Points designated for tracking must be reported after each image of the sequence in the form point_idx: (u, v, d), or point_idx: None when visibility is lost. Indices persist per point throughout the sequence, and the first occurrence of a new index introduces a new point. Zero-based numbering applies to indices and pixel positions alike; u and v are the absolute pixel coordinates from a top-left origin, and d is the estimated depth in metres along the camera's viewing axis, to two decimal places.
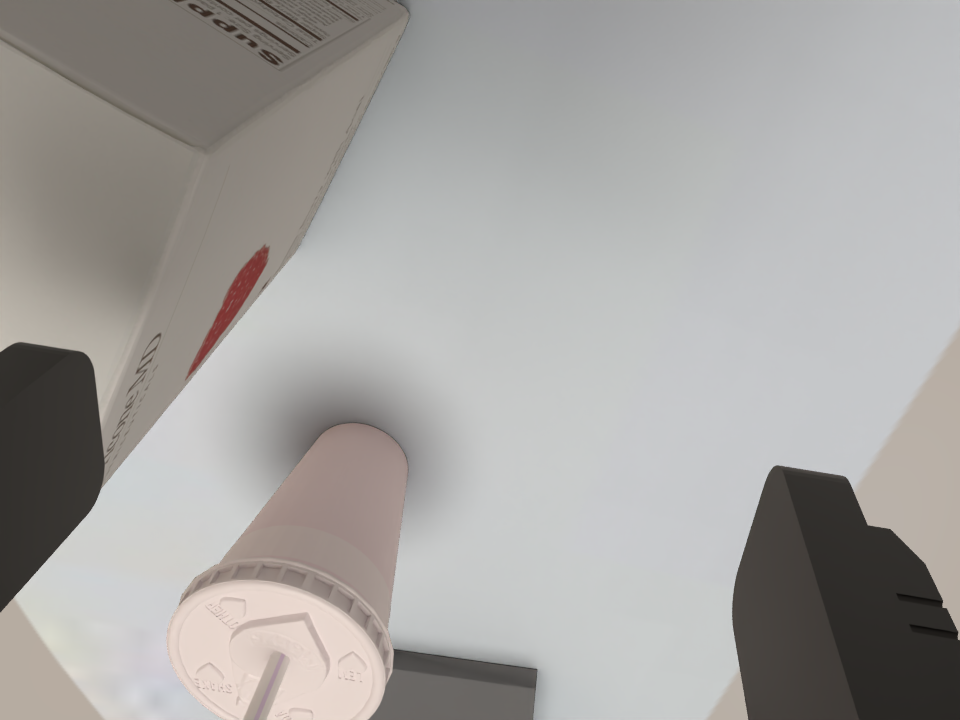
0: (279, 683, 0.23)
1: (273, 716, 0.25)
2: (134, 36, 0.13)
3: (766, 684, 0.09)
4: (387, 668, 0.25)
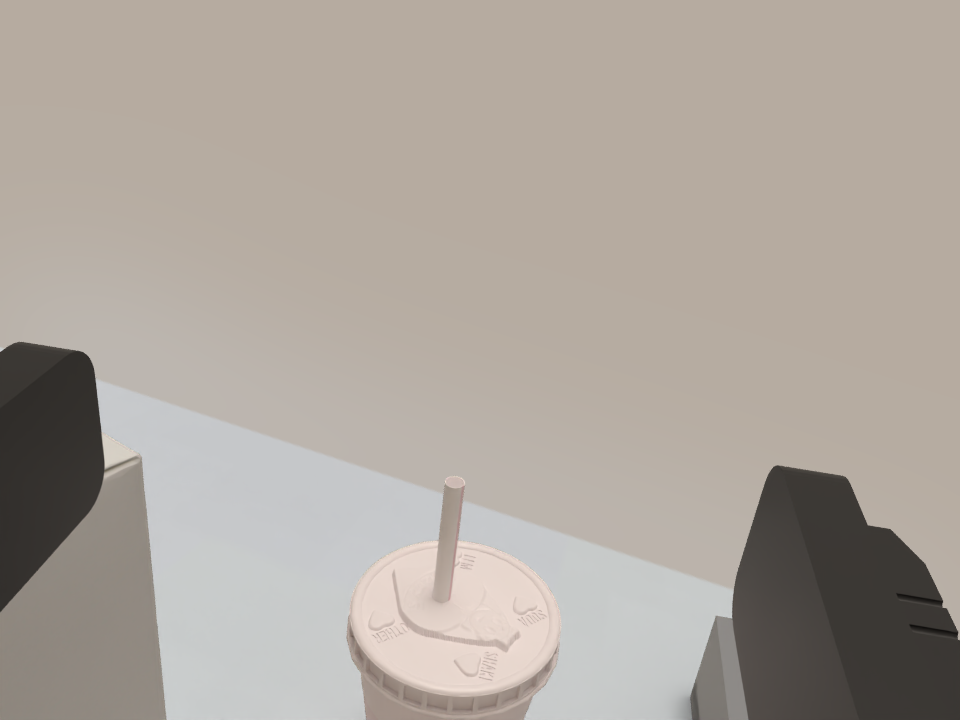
0: None
1: (527, 628, 0.26)
2: None
3: (766, 684, 0.09)
4: None
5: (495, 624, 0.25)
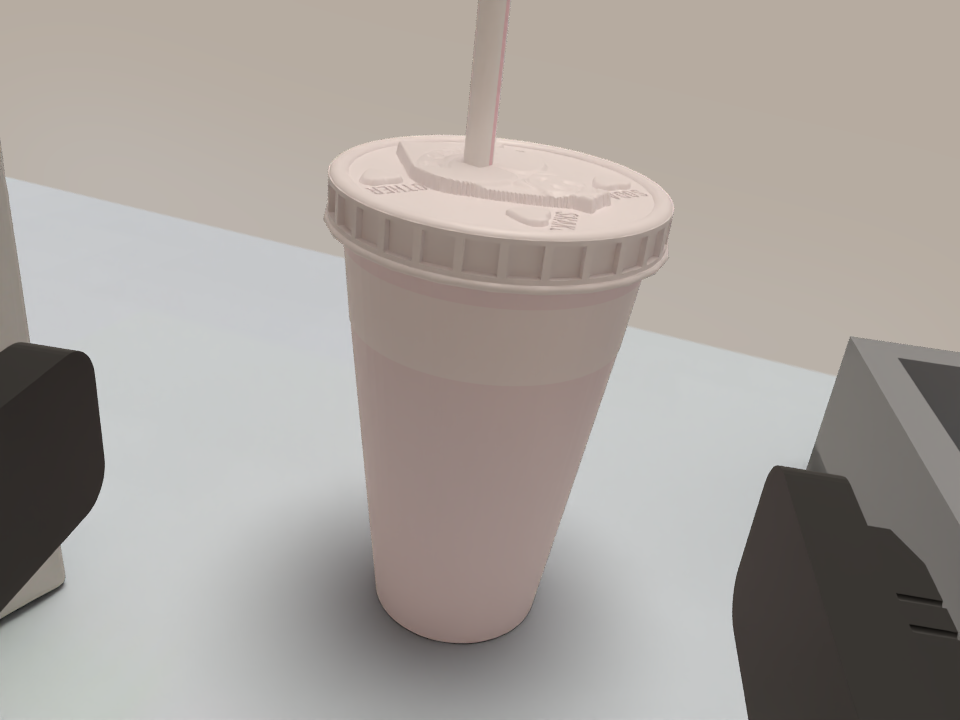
0: None
1: (620, 199, 0.16)
2: None
3: (766, 684, 0.09)
4: None
5: (569, 185, 0.15)
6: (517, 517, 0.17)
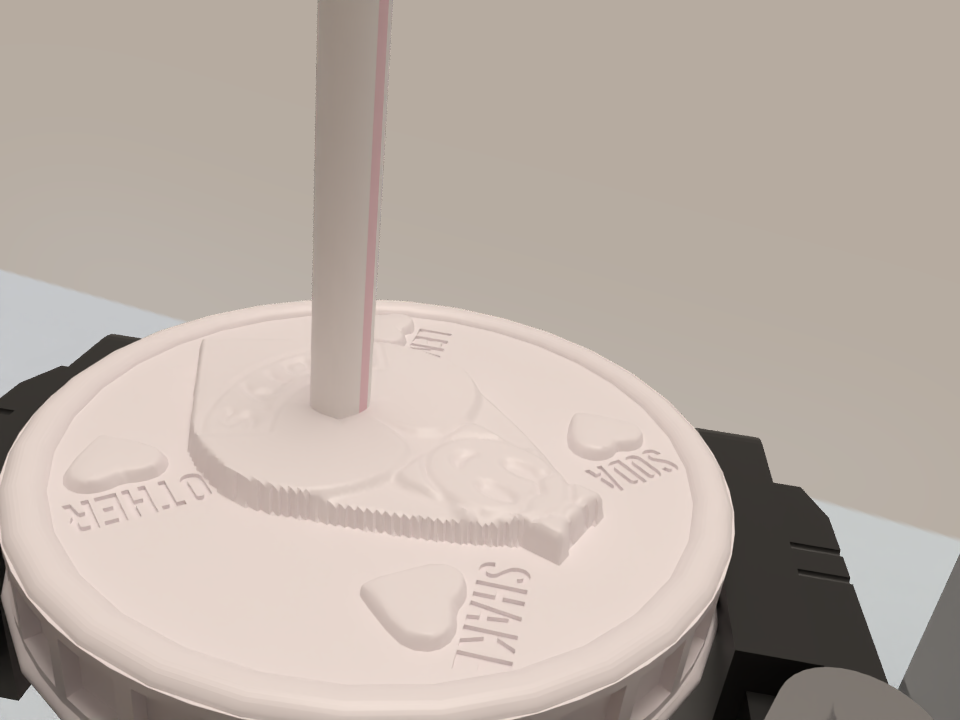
0: None
1: (622, 493, 0.08)
2: None
3: None
4: None
5: (516, 476, 0.07)
6: None
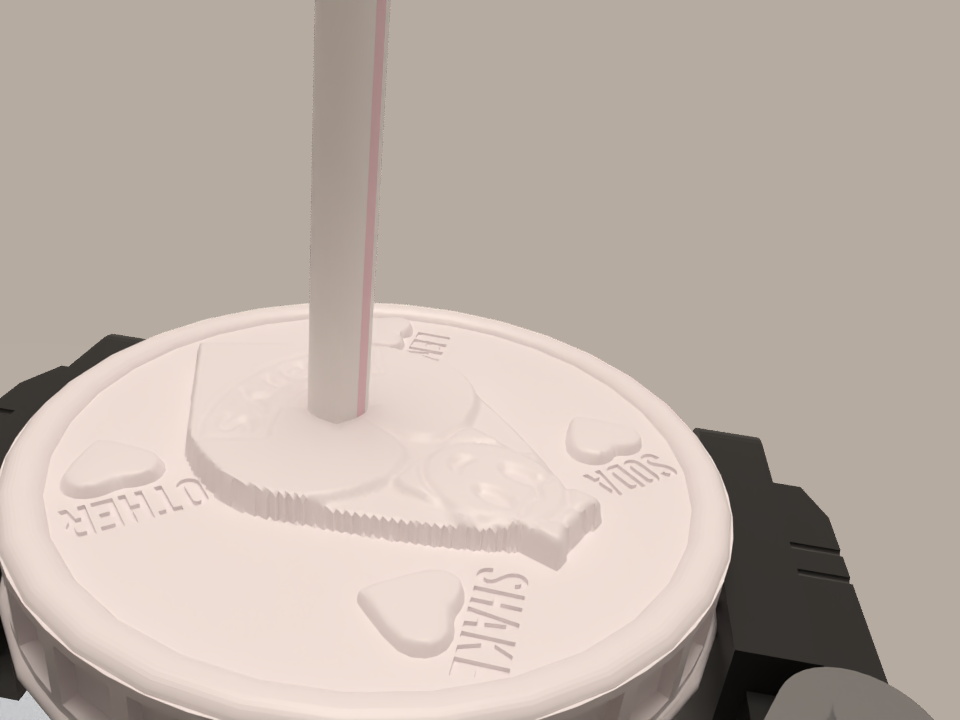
0: None
1: (620, 498, 0.08)
2: None
3: None
4: None
5: (514, 481, 0.07)
6: None
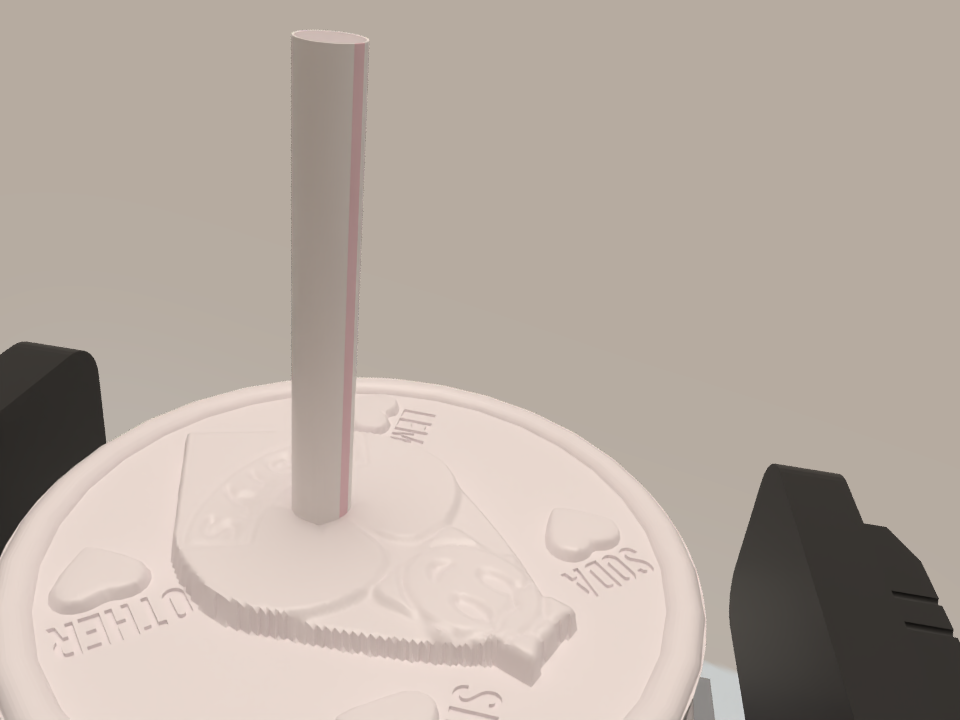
0: None
1: (597, 601, 0.08)
2: None
3: (762, 681, 0.09)
4: None
5: (491, 589, 0.07)
6: None
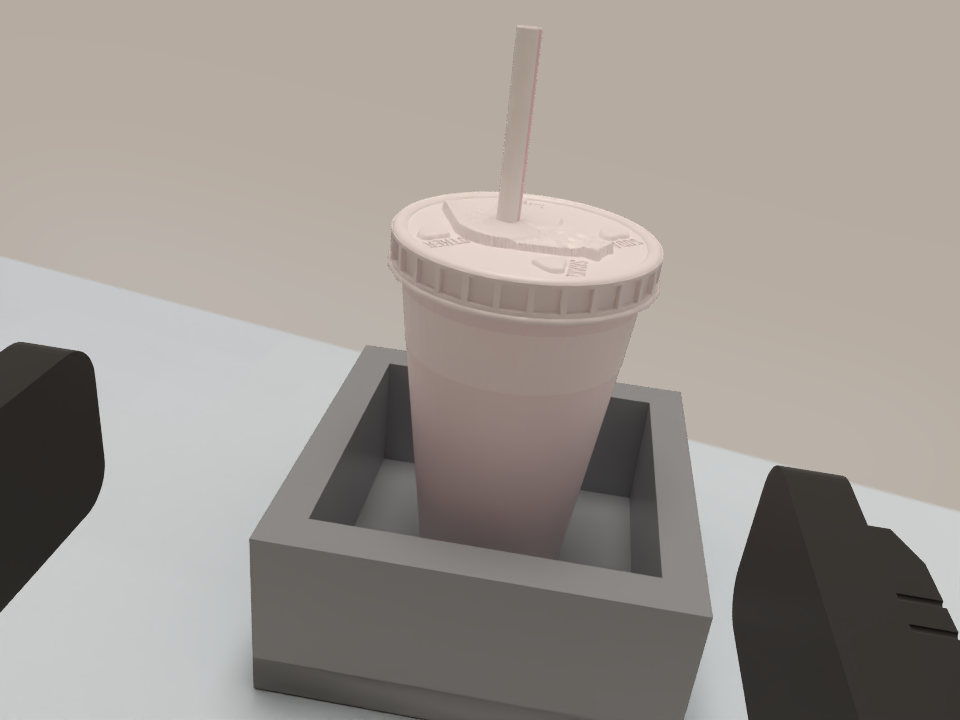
0: None
1: (620, 248, 0.20)
2: None
3: (766, 684, 0.09)
4: None
5: (580, 238, 0.20)
6: (541, 500, 0.21)
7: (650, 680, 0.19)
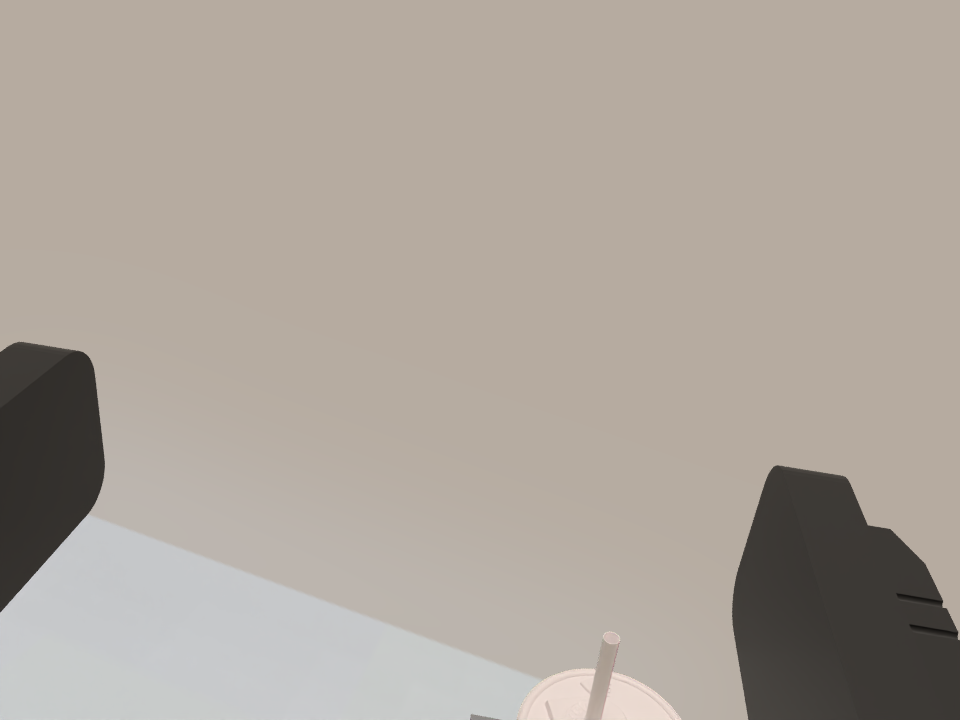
0: None
1: None
2: None
3: (766, 684, 0.09)
4: None
5: None
6: None
7: None
